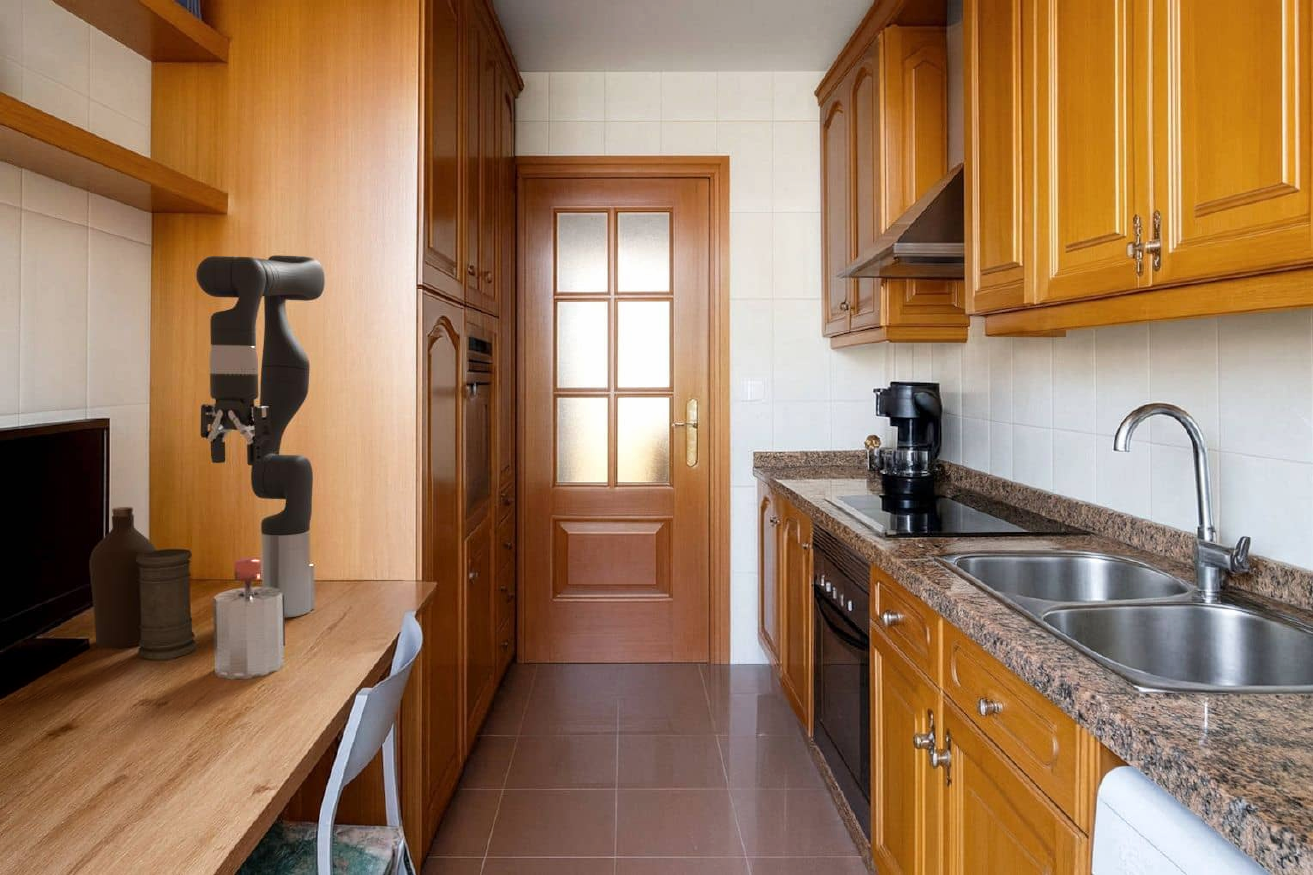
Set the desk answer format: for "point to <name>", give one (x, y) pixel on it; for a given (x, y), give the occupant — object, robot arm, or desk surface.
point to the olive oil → (118, 582)
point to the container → (165, 604)
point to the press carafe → (248, 632)
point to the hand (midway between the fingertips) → (236, 463)
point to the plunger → (247, 572)
